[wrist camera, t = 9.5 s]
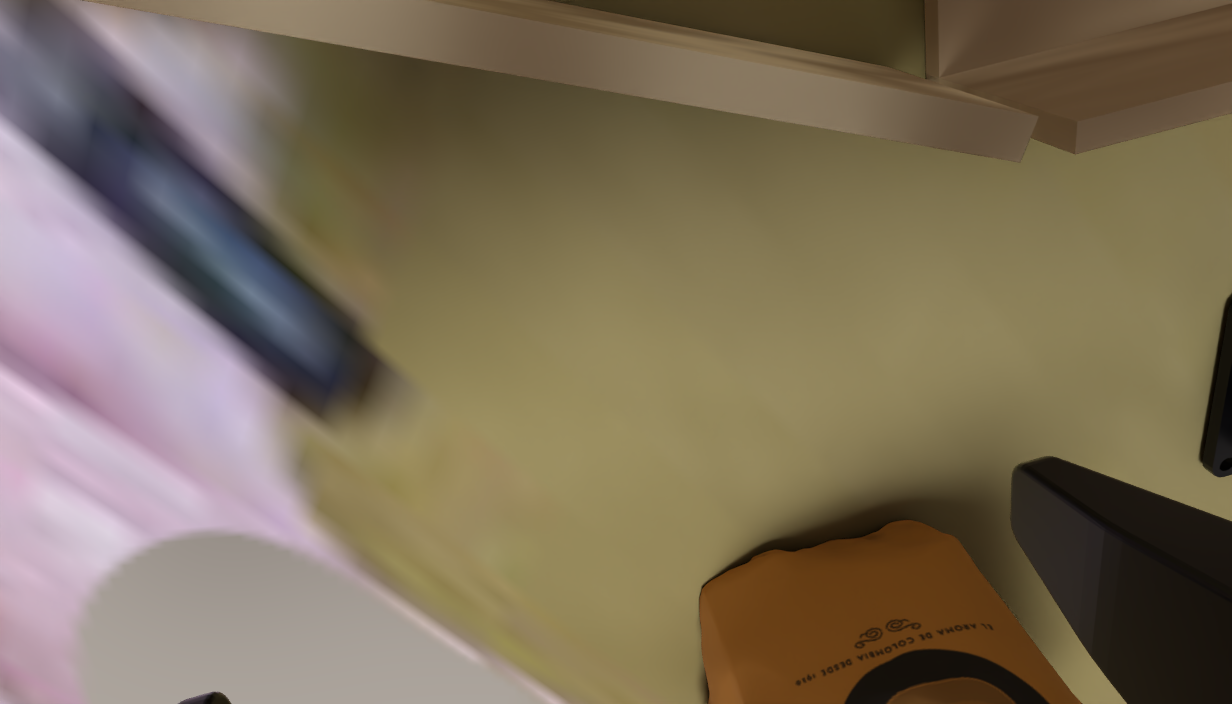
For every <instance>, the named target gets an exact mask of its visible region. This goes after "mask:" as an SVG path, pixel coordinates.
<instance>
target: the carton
mask: <svg viewBox="0 0 1232 704" xmlns="http://www.w3.org/2000/svg"><path fill="white" fill-rule="evenodd" d="M925 45H926V79H927V80H930V81H933V82H936V83H939V84H942V85H945V86H948V87H951V88H954V89H957V90H960V91H963V92H966V93H969V94H972V95H975V96H978V97H981V98H984V99H987V100H990V101H994V102H997V103H1000V104H1003V105H1006V106H1009V107H1012V108H1015V109H1018V110H1021V111H1024V112H1027V113H1030V114H1033V115H1036V116H1039V117H1038V120H1037V122H1036V125H1035V127H1034V130H1033V132H1032V135H1031V137H1030V138H1033V139H1035V140H1038V141H1041V142H1043V143H1046V144H1049V145H1051V146H1054V147H1057V148H1060V149H1062V150H1065V151H1068V152H1070V153H1073V154H1078V153H1082V152H1086V151H1090V150H1094V149H1097V148H1101V147H1105V146H1109V145H1113V144H1116V143H1120V142H1124V141H1128V140H1132V139H1136V138H1139V137H1143V136H1147V135H1151V134H1155V133H1158V132H1162V131H1166V130H1170V129H1174V128H1177V127H1181V126H1185V125H1189V124H1193V123H1197V122H1200V121H1204V120H1208V119H1212V118H1216V117H1219V116H1223V115H1227V114H1231V113H1232V0H925Z"/></svg>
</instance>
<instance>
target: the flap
mask: <svg viewBox="0 0 1232 704" xmlns="http://www.w3.org/2000/svg"><path fill="white" fill-rule="evenodd" d="M82 1H88V2H94V3H100V4H105V5H111V6H117V7H123V8H129V9H134V10H140V11H146V12H152V13H157V14H163V15H169V16H175V17H181V18H186V19H192V20H198V21H204V22H210V23H215V24H221V25H227V26H233V27H239V28H244V29H250V30H256V31H262V32H267V33H273V34H279V35H285V36H291V37H296V38H302V39H308V40H314V41H320V42H325V43H331V44H337V45H343V46H348V47H354V48H360V49H366V50H372V51H377V52H383V53H389V54H395V55H401V56H406V57H412V58H418V59H424V60H430V61H435V62H441V63H447V64H453V65H458V66H464V67H470V68H476V69H482V70H487V71H493V72H499V73H505V74H511V75H516V76H522V77H528V78H534V79H539V80H545V81H551V82H557V83H563V84H568V85H574V86H580V87H586V88H592V89H597V90H603V91H609V92H615V93H620V94H626V95H632V96H638V97H644V98H649V99H655V100H661V101H667V102H673V103H678V104H684V105H690V106H696V107H702V108H707V109H713V110H719V111H725V112H730V113H736V114H742V115H748V116H754V117H759V118H765V119H771V120H777V121H783V122H788V123H794V124H800V125H806V126H811V127H817V128H823V129H829V130H835V131H840V132H846V133H852V134H858V135H864V136H869V137H875V138H881V139H887V140H892V141H898V142H904V143H910V144H916V145H921V146H927V147H933V148H939V149H945V150H950V151H956V152H962V153H968V154H974V155H979V156H985V157H991V158H997V159H1002V160H1008V161H1014V162H1021V160H1022V157H1023V155H1024V152H1025V150H1026V147H1027V145H1028V142H1029V140H1030V137H1031V135H1032V132H1033V130H1034V127H1035V125H1036V122H1037V120H1038V117H1039V116H1036V115H1033V114H1030V113H1027V112H1024V111H1021V110H1018V109H1015V108H1012V107H1009V106H1006V105H1003V104H1000V103H997V102H994V101H990V100H987V99H984V98H981V97H978V96H975V95H972V94H969V93H966V92H963V91H960V90H957V89H954V88H951V87H948V86H945V85H942V84H939V83H936V82H933V81H930V80H927V79H923V78H920V77H917V76H914V75H911V74H908V73H905V72H902V71H899V70H896V69H893V68H890V67H886V66H881V65H876V64H871V63H866V62H860V61H855V60H850V59H845V58H840V57H835V56H830V55H825V54H820V53H815V52H809V51H804V50H799V49H794V48H789V47H784V46H779V45H774V44H769V43H764V42H758V41H753V40H748V39H743V38H738V37H733V36H728V35H723V34H718V33H713V32H707V31H702V30H697V29H692V28H687V27H682V26H677V25H672V24H667V23H662V22H656V21H651V20H646V19H641V18H636V17H631V16H626V15H621V14H616V13H611V12H605V11H600V10H595V9H590V8H585V7H580V6H575V5H570V4H565V3H560V2H554V1H549V0H82Z"/></svg>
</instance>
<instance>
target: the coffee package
mask: <svg viewBox="0 0 1232 704" xmlns="http://www.w3.org/2000/svg"><path fill="white" fill-rule="evenodd" d="M700 623H701V629H702V642H701V646H702V656H703V662H704V667H705V672H706V677H707V681H708V687H709V692H710V696H709V701H708V704H1082V703H1081V702H1080V701H1079V700H1078V699H1077V698H1076V696H1075V695H1074V694H1073V693H1072V692H1071V691H1070V689H1069V688H1068V687H1067V685H1066V684H1065V683H1064V681H1063V680H1062V679H1061V678H1060V676H1059V675H1058V674H1057V672H1056V671H1055V670H1054V668H1053V667H1052V666H1051V665H1050V663H1049V662H1048V661H1047V659H1046V658H1045V657H1044V655H1043V654H1042V653H1041V651H1040V650H1039V649H1038V647H1037V646H1036V645H1035V643H1034V642H1033V641H1032V639H1031V638H1030V637H1029V635H1028V634H1027V633H1026V631H1025V630H1024V629H1023V627H1022V626H1021V625H1020V623H1019V622H1018V621H1017V619H1016V618H1015V616H1014V615H1013V614H1012V612H1011V611H1010V610H1009V608H1008V607H1007V606H1006V604H1005V603H1004V602H1003V600H1002V599H1001V598H1000V596H999V595H998V594H997V593H996V591H995V590H994V589H993V587H992V586H991V585H990V584H989V582H988V581H987V580H986V579H985V577H984V576H983V575H982V573H981V572H980V571H979V570H978V568H977V567H976V565H975V563H974V562H973V560H972V559H971V557H970V556H969V554H968V553H967V552H966V550H965V549H964V547H963V546H962V544H961V543H960V542H959V540H958V539H957V538H955V537H954V536H953V535H949V534H945V533H941V532H940V531H938V530H936V529H934V528H933V527H930V526H928V525H926V524H923V523H921V522H917V521H912V520H901V521H894V522H891V523H888V524H887V525H885V526H884V527H883V528H881V529H880V530H879V531H877V532H874V533H871V534H869V535H866V536H864V537H860V538H854V539H835V540H830V541H827V542H825V543H823V544H820V545H817V546H814V547H813V548H808V549H801V550H798V551H795V552H786V551H783V550H776V549H775V550H771V551H767V552H764V553H762V554H760V555H757V556H754V557H752V559H751V560H750V561H749V562H748V563H746V564H743V565H741V566H738V567H736V568H733V569H731V570H728V571H727V572H725V573H724V574H722V575H720V576H719V577H717V578H715V579H713V580H711V581H710V582H709V583H707V584H706V585H705V586H704V588H703V589H702V592H701V596H700Z"/></svg>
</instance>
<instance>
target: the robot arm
mask: <svg viewBox="0 0 1232 704" xmlns="http://www.w3.org/2000/svg"><path fill="white" fill-rule="evenodd" d="M1203 467H1204V468H1205V469H1206V470H1208V471H1209V472H1210V473H1212V474H1213V475H1215V476H1217V477H1225V476H1229V475H1232V304H1231V306H1230V308H1229V311H1228V317H1227V323H1226V329H1225V334H1224V340H1223V346H1222V352H1221V358H1220V363H1219V369H1218V375H1217V381H1216V386H1215V392H1214V398H1213V404H1212V410H1211V415H1210V421H1209V427H1208V433H1207V439H1206V444H1205V450H1204V456H1203ZM1010 520H1011V527H1012V530H1013V533H1014V535H1015V538H1016V540H1017V541H1018V543H1019V545H1020V546H1021V548H1022V549H1023V551H1024V553H1025V554H1026V556H1027V557H1028V559H1029V561H1030V562H1031V564H1032V565H1033V567H1034V568H1035V570H1036V572H1037V573H1038V575H1039V576H1040V578H1041V580H1042V581H1043V583H1044V584H1045V586H1046V587H1047V589H1048V591H1049V592H1050V594H1051V595H1052V597H1053V599H1054V600H1055V602H1056V603H1057V605H1058V606H1059V608H1060V610H1061V611H1062V613H1063V614H1064V616H1065V618H1066V619H1067V621H1068V622H1069V624H1070V625H1071V627H1072V629H1073V630H1074V632H1075V633H1076V635H1077V637H1078V638H1079V640H1080V641H1081V643H1082V644H1083V646H1084V647H1085V649H1086V650H1087V651H1088V653H1089V654H1090V656H1091V657H1092V659H1093V660H1094V661H1095V663H1096V664H1097V665H1098V667H1099V668H1100V669H1101V671H1102V672H1103V673H1104V675H1105V676H1106V677H1107V679H1108V680H1109V681H1110V682H1111V684H1112V685H1113V686H1114V687H1115V689H1116V690H1117V691H1118V693H1119V694H1120V695H1121V696H1122V698H1123V699H1124V700H1125V701H1126V703H1127V704H1232V521H1229V520H1226V519H1224V518H1221V517H1218V516H1215V515H1213V514H1210V513H1207V512H1205V511H1202V510H1199V509H1196V508H1194V507H1191V506H1188V505H1185V504H1183V503H1180V502H1177V501H1174V500H1172V499H1169V498H1166V497H1164V496H1161V495H1158V494H1155V493H1153V492H1150V491H1147V490H1144V489H1142V488H1139V487H1136V486H1134V485H1131V484H1128V483H1125V482H1123V481H1120V480H1117V479H1114V478H1112V477H1109V476H1106V475H1103V474H1101V473H1098V472H1095V471H1093V470H1090V469H1087V468H1084V467H1082V466H1079V465H1076V464H1073V463H1071V462H1068V461H1065V460H1062V459H1060V458H1056V457H1053V456H1046V457H1041V458H1038V459H1034V460H1031V461H1027V462H1024V463H1020V464H1018V465H1017V466H1016V467H1015V468H1014V470H1013V472H1012V482H1011V512H1010ZM178 704H231V703H230V701H229V699H228V698H227V697H226V696H225V695H224V694H222V693H220V692H211V693H207V694H203V695H200V696H196V697H193V698H189V699H186V700H184V701H181V702H180V703H178Z"/></svg>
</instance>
